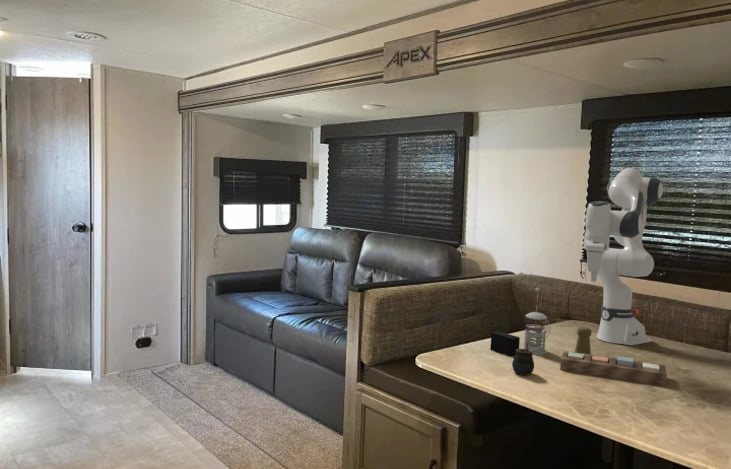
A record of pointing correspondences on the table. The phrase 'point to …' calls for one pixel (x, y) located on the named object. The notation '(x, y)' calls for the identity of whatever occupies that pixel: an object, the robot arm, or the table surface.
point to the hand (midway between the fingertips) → (593, 281)
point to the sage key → (575, 355)
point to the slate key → (624, 361)
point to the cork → (583, 340)
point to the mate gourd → (523, 361)
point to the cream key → (650, 366)
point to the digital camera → (504, 343)
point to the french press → (538, 335)
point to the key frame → (614, 369)
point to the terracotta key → (600, 359)
